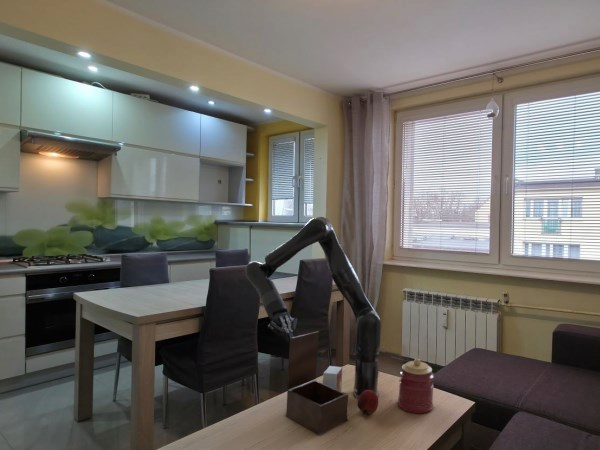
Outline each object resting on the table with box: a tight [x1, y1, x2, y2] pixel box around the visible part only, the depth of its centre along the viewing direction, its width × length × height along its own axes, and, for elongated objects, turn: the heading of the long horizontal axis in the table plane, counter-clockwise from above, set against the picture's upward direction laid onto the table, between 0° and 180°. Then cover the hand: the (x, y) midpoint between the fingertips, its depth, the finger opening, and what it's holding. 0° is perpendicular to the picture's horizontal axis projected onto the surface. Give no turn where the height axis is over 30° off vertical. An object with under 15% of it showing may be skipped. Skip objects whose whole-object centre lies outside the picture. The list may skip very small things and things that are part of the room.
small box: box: [322, 365, 343, 391], centre depth 147 cm, size 8×6×10 cm
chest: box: [285, 379, 349, 435], centre depth 130 cm, size 17×13×9 cm
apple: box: [356, 390, 379, 415], centre depth 136 cm, size 7×8×8 cm
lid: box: [286, 330, 320, 390], centre depth 135 cm, size 18×13×1 cm
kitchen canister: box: [397, 358, 435, 414], centre depth 143 cm, size 13×13×18 cm
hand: (292, 342), depth 140 cm, fingers closed
